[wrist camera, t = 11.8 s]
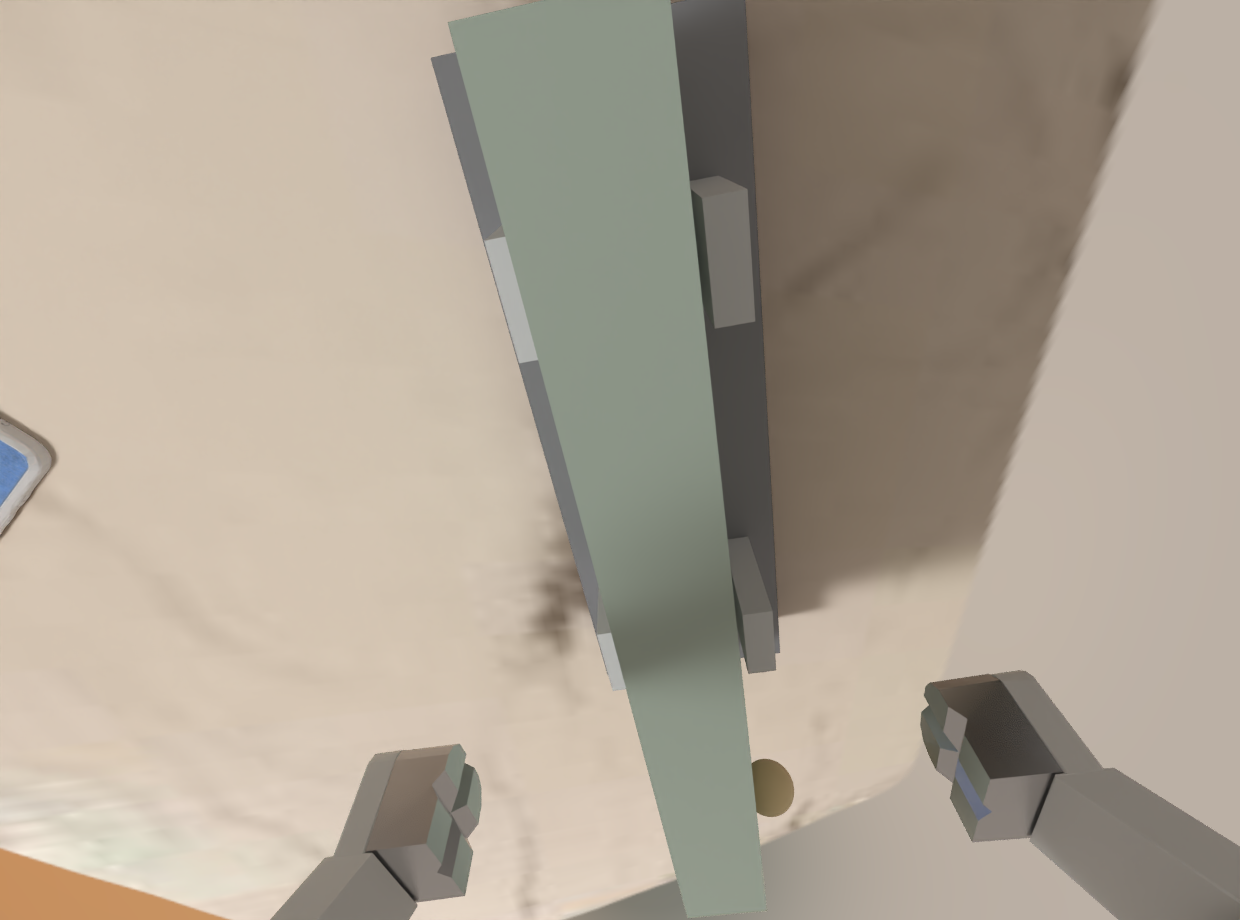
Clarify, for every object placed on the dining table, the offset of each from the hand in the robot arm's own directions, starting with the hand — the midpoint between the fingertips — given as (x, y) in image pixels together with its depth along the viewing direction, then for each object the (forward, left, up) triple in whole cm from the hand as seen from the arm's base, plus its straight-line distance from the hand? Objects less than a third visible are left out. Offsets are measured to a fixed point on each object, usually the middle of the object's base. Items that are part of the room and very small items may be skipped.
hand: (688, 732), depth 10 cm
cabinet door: (+1, 0, -12) cm, 12 cm away
